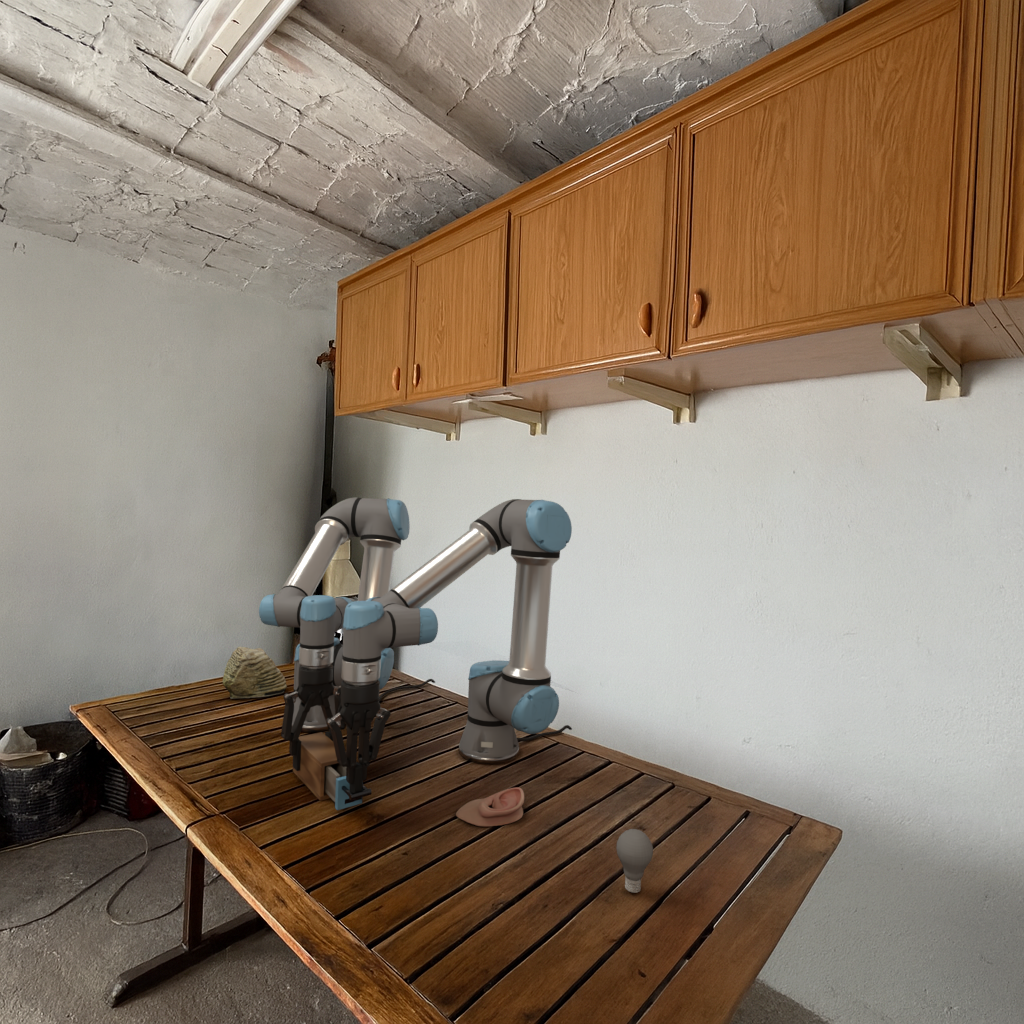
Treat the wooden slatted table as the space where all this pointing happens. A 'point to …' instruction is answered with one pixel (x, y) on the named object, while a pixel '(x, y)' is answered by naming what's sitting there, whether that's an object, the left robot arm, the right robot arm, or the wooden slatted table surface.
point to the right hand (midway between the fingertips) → (355, 797)
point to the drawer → (341, 787)
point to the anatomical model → (494, 808)
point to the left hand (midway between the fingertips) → (312, 764)
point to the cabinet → (315, 762)
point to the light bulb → (634, 857)
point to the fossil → (252, 674)
